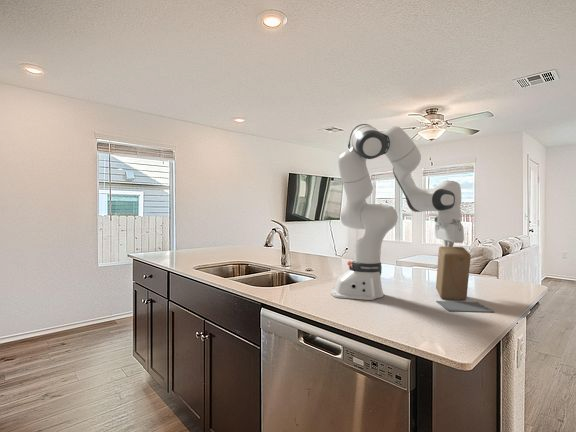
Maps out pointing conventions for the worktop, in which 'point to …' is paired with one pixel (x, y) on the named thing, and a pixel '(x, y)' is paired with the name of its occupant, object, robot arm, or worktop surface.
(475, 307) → the mat
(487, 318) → the worktop surface
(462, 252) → the wooden block
